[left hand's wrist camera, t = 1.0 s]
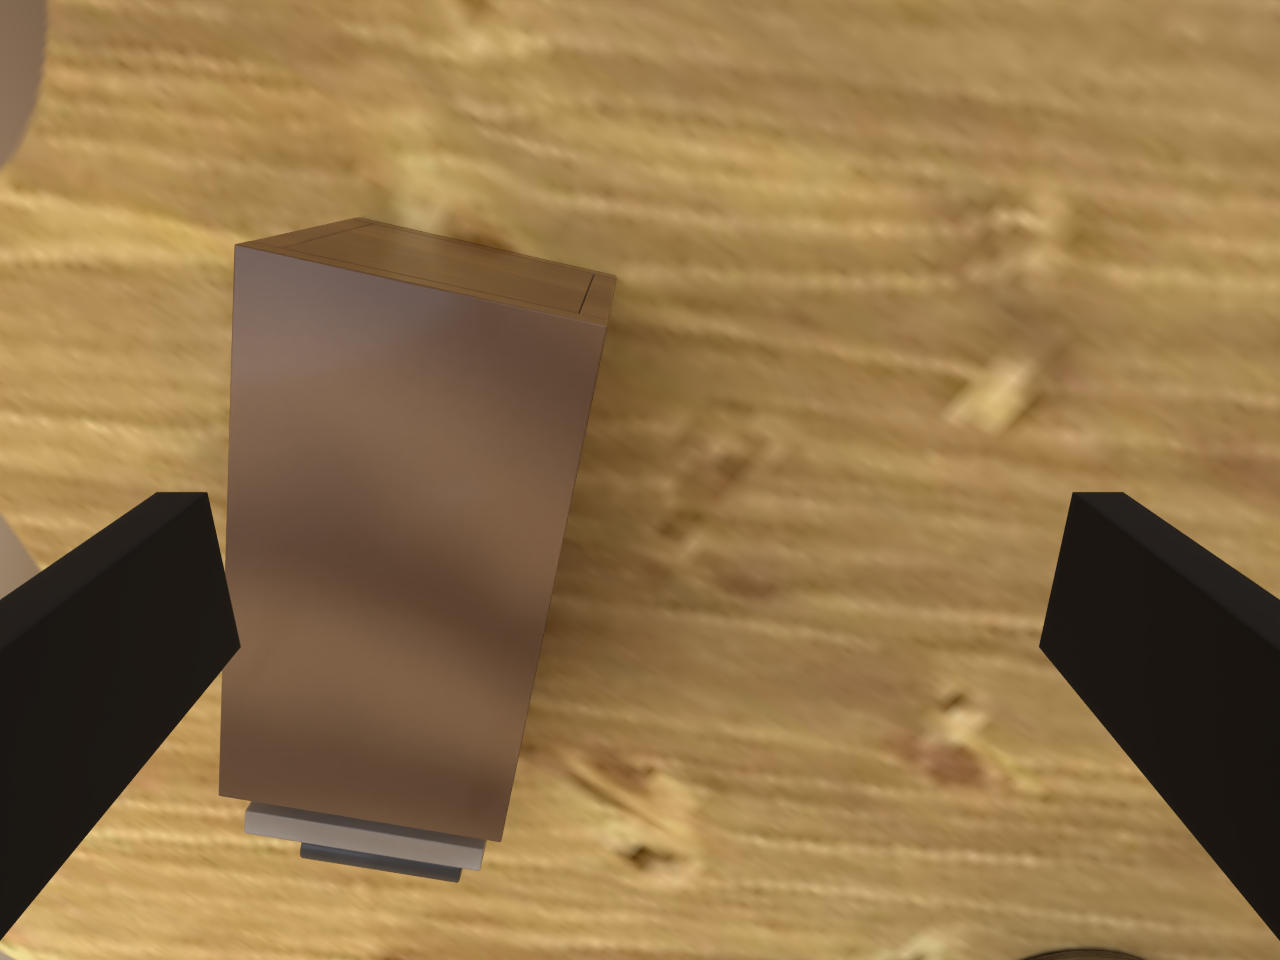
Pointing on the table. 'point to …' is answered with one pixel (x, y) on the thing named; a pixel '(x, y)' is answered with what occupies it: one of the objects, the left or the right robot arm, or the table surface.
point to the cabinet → (396, 515)
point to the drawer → (368, 842)
